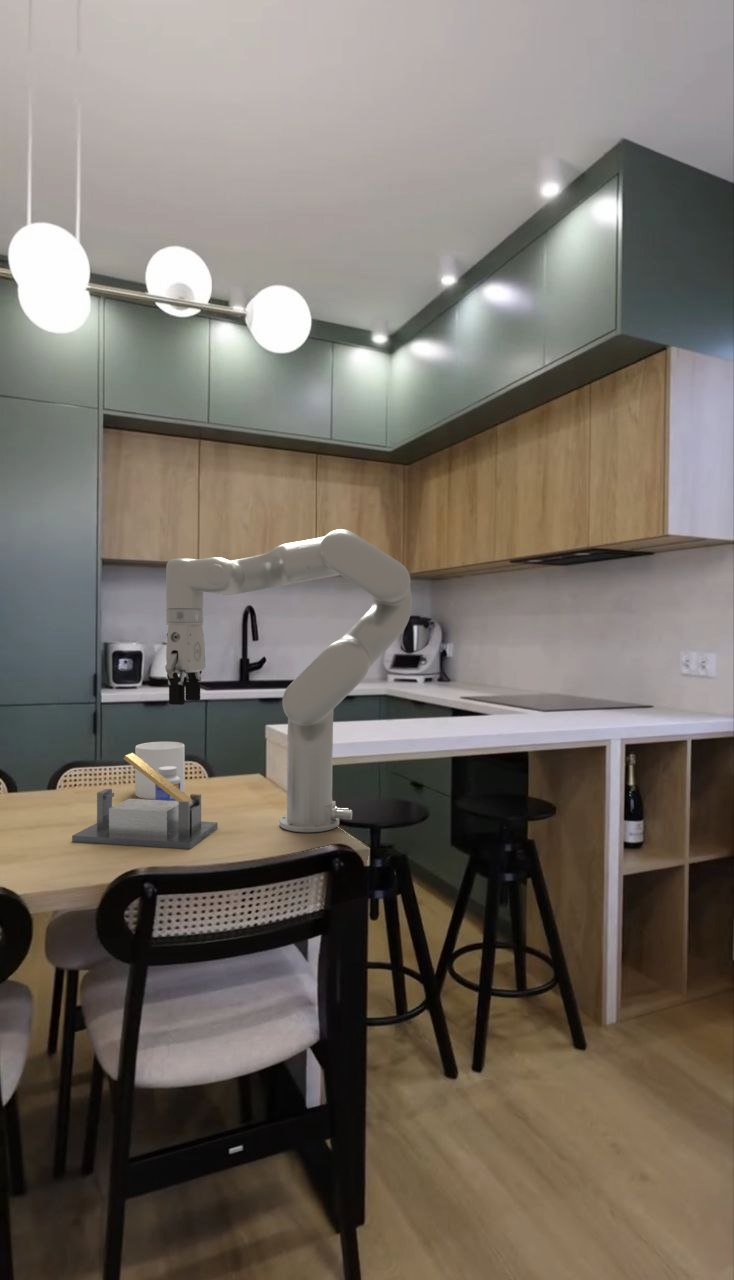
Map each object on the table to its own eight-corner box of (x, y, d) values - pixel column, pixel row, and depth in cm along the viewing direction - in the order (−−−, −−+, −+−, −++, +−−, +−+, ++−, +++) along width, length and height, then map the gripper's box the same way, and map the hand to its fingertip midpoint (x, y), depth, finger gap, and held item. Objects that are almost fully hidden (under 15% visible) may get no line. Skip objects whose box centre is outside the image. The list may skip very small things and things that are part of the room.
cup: (145, 787, 184) (145, 741, 184) (190, 788, 183) (190, 741, 183) (128, 798, 172) (128, 749, 172) (176, 799, 172) (176, 749, 171)
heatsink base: (217, 828, 148) (217, 787, 148) (190, 849, 134) (190, 804, 134) (109, 822, 152) (109, 782, 152) (72, 841, 138) (72, 798, 138)
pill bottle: (173, 814, 158) (173, 770, 158) (150, 813, 159) (150, 769, 159) (184, 808, 164) (184, 766, 163) (162, 807, 165) (162, 764, 165)
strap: (194, 805, 143) (197, 801, 143) (186, 810, 140) (188, 806, 139) (131, 755, 145) (134, 752, 145) (122, 759, 142) (124, 755, 141)
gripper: (184, 617, 141) (184, 707, 142) (217, 618, 158) (217, 698, 159) (148, 617, 142) (149, 706, 143) (185, 618, 160) (185, 697, 160)
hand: (185, 701), depth 151 cm, fingers open, 7 cm apart
